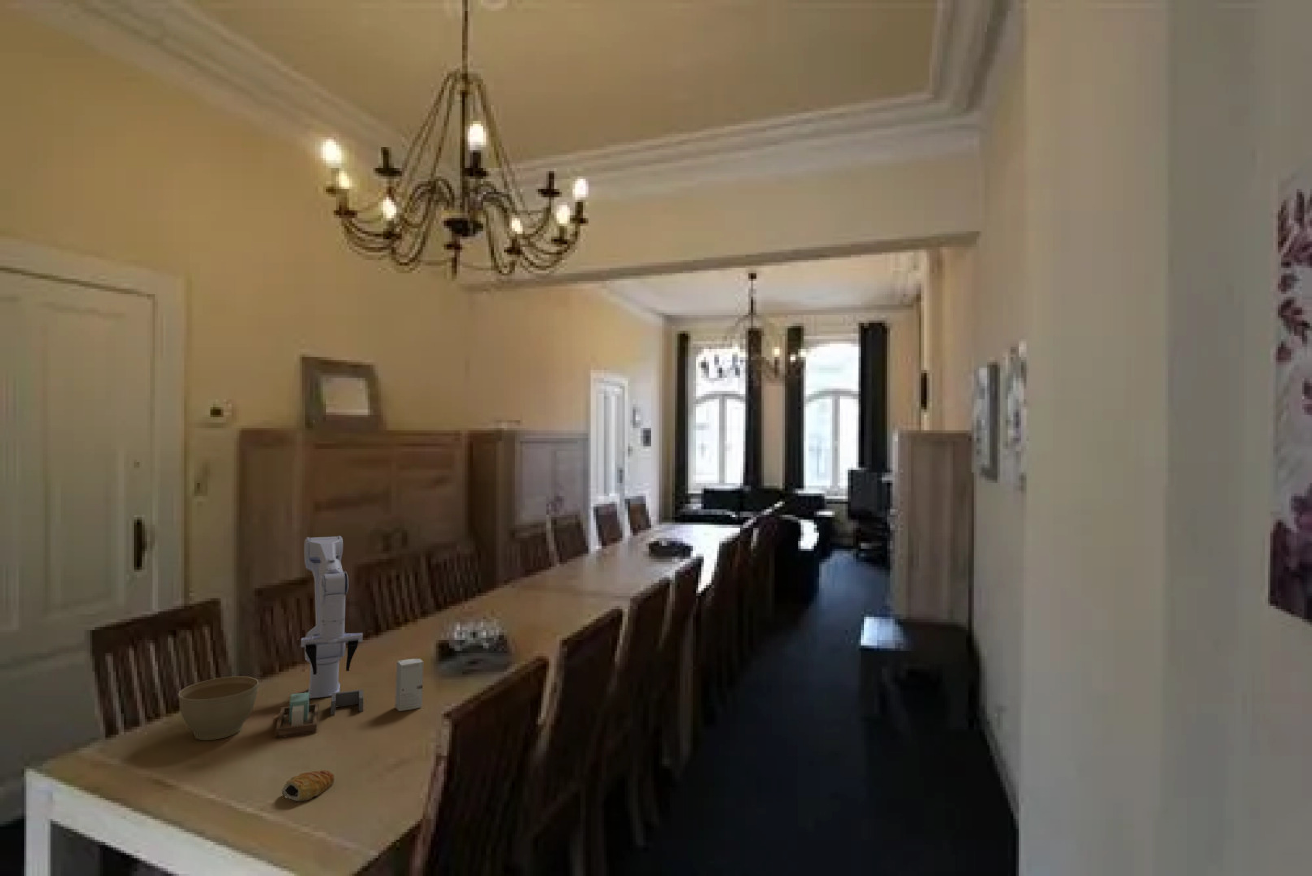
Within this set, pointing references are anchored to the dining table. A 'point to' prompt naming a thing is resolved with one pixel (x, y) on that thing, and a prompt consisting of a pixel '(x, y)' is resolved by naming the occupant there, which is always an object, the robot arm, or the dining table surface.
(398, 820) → the dining table surface
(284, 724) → the tray
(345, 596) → the robot arm
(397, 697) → the skincare box
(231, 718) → the planter bowl
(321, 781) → the pastry
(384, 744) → the dining table surface
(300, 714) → the stacked two-tone block
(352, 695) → the bay
